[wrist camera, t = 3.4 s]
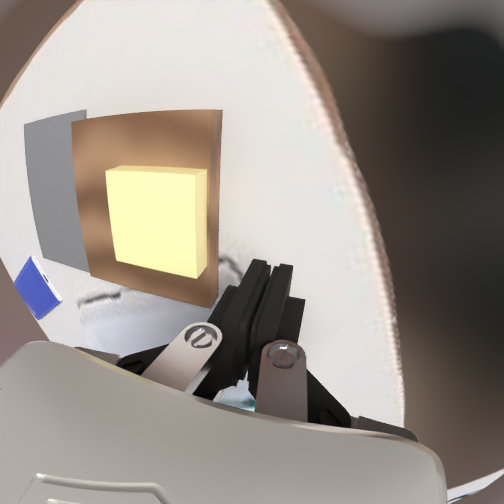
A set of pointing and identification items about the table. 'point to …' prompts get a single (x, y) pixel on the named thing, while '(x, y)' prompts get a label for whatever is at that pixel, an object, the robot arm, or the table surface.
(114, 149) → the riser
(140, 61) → the table surface
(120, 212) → the sticky pad
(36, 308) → the hard drive
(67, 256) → the mat
